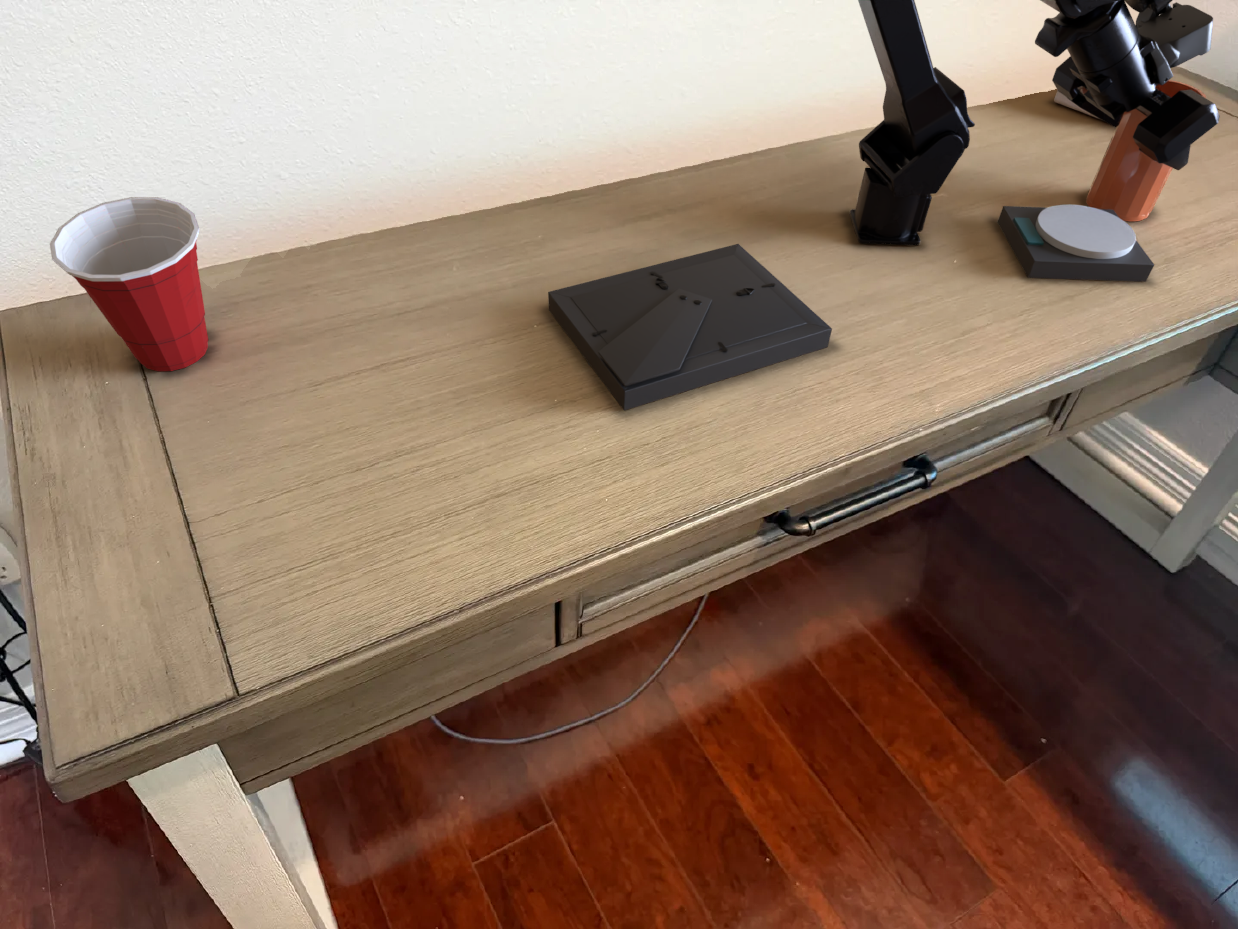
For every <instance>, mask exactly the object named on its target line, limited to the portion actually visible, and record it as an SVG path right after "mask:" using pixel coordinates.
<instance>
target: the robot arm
mask: <svg viewBox="0 0 1238 929" xmlns="http://www.w3.org/2000/svg"><path fill="white" fill-rule="evenodd" d="M857 1H858V4H859V8H860V10H861V14H862V16H863V19H864V23H865V26H866V30H867V32H868V35H869V37H870V38H869V39H870V41H871V44H872V47H873V50H874V53H875V56H876V59H877V62H878V65H879V68H880V71H881V74H882V77H883V80H884V83H885V93H884V98H883V102H882V112H883V120H882V121H880V123H879V124H877V125H876V126H875V127H873V129H872V130H871V131H870V132H868V133H867V134H866V135H865V136H864V137H862V139H860V141H859V142H858V150H859V157H860V160H861V161H862V162H863V163H865V164H866V165H867V167H864V170H863V175H862V179H861V183H860V188H859V192H858V196H857V200H856V205H855V208H852V209H850V210H849V213H848V214H849V217H850V221H851V224H852V227H853V230H854V233H855V236H856V239H857V241H858V243H859V244H863V245H888V246H889V245H893V246H919V245H921V241H922V239H921V236H920V235H919V233H921V232H922V231H923V230H924V227H925V223H926V219H927V216H928V213H929V209H930V206H931V203H932V199H933V197H932V195H936V194H938V192H940V189H941V188H942V187H943V185H944V183H945V181H946V180H947V178H948V177H949V175H950V174H951V172H952V170H953V169H954V168H955V166H956V164H957V163H958V161H959V160H960V159H961V157H962V156H963V154H964V152H965V150H967V149H968V148H969V146H970V140H971V138H970V136H971V135H970V130H969V129H970V128H974V127H975V125H976V124H975V122H974V121H973V120H972V119H971V118H970V116H969V112H968V101H967V100H968V98H967V95H966V93H965V90H964V89H963V88H962V87H961V86H960V85H958V84H957V83H956V82H955V81H953V80H952V79H951V78H949V77H948V75H946V74H945V73H944V72H942V71H941V70H940V69H939V68H937V67H936V66H935V67H934V64H933V62H932V58H931V54H930V51H929V47H928V44H927V39H926V36H925V33H924V29H923V26H922V22H921V19H920V15H919V11H918V8H917V4H916V1H915V0H857ZM1039 1H1041V2H1042V3H1043V4H1045V5H1046V6H1048V7H1050V8H1052V9H1053V10H1055V11H1057V12H1058V14H1056V16H1054V17H1047V18H1045V19H1044V22H1043V26H1042V27H1041V29H1040V30H1039V31H1038V33H1037V35H1036V37H1035V40H1034V44H1035V45H1036V46H1037V47H1039V48H1040V49H1042V50H1043V51H1046V53H1048V54H1049V55H1051V56H1052V57H1054V58H1058V57H1060V56H1061V55H1062V54H1064V52H1066V50H1067V52H1068V54H1069V57H1067V59H1065V60H1064V61H1063V62H1062V63H1060V65H1058V66H1057V67H1056V68H1055V71H1054V74H1053V77H1052V79H1051V81H1052V84H1054V86H1055V88H1056V90H1058V91H1059V92H1060V93H1061V94H1063V95H1064V96H1066V97H1067V99H1069V100H1070V101H1071V102H1073V103H1074V104H1076V105H1077V106H1078V107H1080V108H1082V109H1083V110H1085V111H1087V112H1089V113H1090V114H1092V115H1094V116H1096V117H1098V118H1099V119H1098V118H1097V119H1098V120H1101V121H1103V122H1105V123H1106V124H1108V125H1110V126H1112V127H1114V128H1115V129H1116V127H1117V124H1118V122H1119V120H1120V118H1121V115H1122V114H1123V113H1124V112H1129V111H1132V110H1134V109H1137V110H1138V111H1140V112H1141V113H1143V114H1144V115H1146V116H1147V118H1145V119H1144V120H1143V121H1142V122H1140V123H1139V124H1138V126H1137V128H1136V130H1135V132H1134V135H1133V139H1134V141H1135V143H1136V144H1137V146H1138V147H1139V150H1140V151H1141V152H1143V153H1144V154H1145V155H1147V156H1148V157H1150V158H1151V159H1152V160H1154V161H1156V162H1158V163H1159V164H1160V163H1163V164H1165V165H1167V166H1169V167H1172V168H1173V170H1176V171H1180V170H1182V169H1183V168H1184V167H1185V166H1186V165H1188V163H1189V158H1190V152H1191V147H1192V146H1191V145H1193V144H1194V143H1195V142H1196V141H1197V140H1199V139H1200V138H1202V137H1203V136H1204V135H1205V134H1207V133H1208V132H1210V130H1212V129H1213V128H1215V126H1217V125H1218V124H1219V122H1220V118H1221V115H1220V113H1219V111H1218V107H1217V106H1216V103H1214V102H1212V101H1211V100H1210V99H1207V97H1206V98H1204V97H1203V96H1201V95H1199V94H1198V93H1196V92H1194V91H1193V90H1181V91H1179V92H1177V93H1176V94H1175V95H1174V96H1172V97H1170V96H1168V95H1166V94H1165V93H1163V92H1162V91H1160V90H1159V89H1157V88H1155V87H1156V86H1157V85H1158V84H1160V85H1163V84H1165V83H1166V82H1167V81H1168V80H1172V78H1173V77H1174V74H1173V72H1172V70H1171V69H1173V68H1176V67H1178V66H1180V65H1182V64H1184V63H1186V62H1189V61H1190V60H1192V59H1194V58H1196V57H1198V56H1201V57H1202V56H1203V55H1206V54H1207V53H1209V52H1210V50H1211V48H1212V39H1213V38H1212V36H1213V25H1214V17H1213V16H1212V15H1210V14H1209V13H1207V12H1205V11H1203V10H1201V9H1199V8H1197V7H1195V6H1194V5H1190V4H1181V3H1179V2H1174V3H1172V6H1171V2H1173V0H1039ZM1128 6H1129V7H1128ZM1129 8H1131V9H1132V10H1133V11H1135V12H1137V13H1138V15H1137V16H1136V18H1135V20H1134V18H1133V16H1132V14H1131V12H1130V10H1129ZM1096 117H1095V118H1096Z"/></svg>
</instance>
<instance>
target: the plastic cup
mask: <svg viewBox="0 0 1238 929" xmlns="http://www.w3.org/2000/svg"><path fill="white" fill-rule="evenodd" d="M199 234H200V225H199V222H198V219H197V216H196V214H195V212H194V211H192V210H191V209H189V208H188V207H187V206H185V205H184V204H182V203H181V202H178V201H175V200H170V199H166V198H162V197H158V196H155V197H154V196H130V197H124V198H120V199H115V200H109V201H105V202H102V203H98V204H96V205H94V206H91V207H90V208H87V209H85V210H82V211H79V212H77V213H76V214H75V215H74V216H73V217H71V218H70V219H68V220H67V221H65V222H64V223H63V224H62V225H60V226H59V227H58V228H57V230H56V232H55V234H54V235H53V237H52V238H51V240H50V242H49V250H50V256H51V260H52V261H53V262H54V263H55V264H56V265H58V267H60V268H61V269H62V270H63V271H64V272H65V273H66V274H68V275H69V276H71V277H73V279H75V280H76V281H77V283H78V284H79V286H80V287H81V288H83V289H84V291H85V292H86V293H87V295H88V296H89V297H90V299H91V301H93V303H94V305H96V307H97V308H98V310H99V311H100V313H101V314H102V315H103V316H104V318H105V320H106V321H107V322H108V324H109V325H110V327H111V328H112V329H113V330H114V332H115V333H116V335H117V336H119V337H120V338H121V339H122V341H123V342H124V344H125V345H126V347H127V349H128V350H129V351H130V353H131V354H132V356H133V357H134V358H135V359H136V360H137V361H138V362H139V363H140V364H141V365H142V366H143V367H145V368H146V369H148V370H151V371H155V372H173V371H177V370H182V369H185V368H187V367H189V366H191V365H193V364H195V363H197V362H199V361H200V359H201V358H203V357H204V356H205V355H206V353H207V350H208V348H209V345H208V343H209V336H208V330H207V324H206V318H205V316H206V310H205V304H204V298H203V292H202V285H201V284H202V283H201V279H200V272H199V266H198V261H199V258H198V252H197V250H198V246H197V241H198V237H199Z"/></svg>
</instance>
